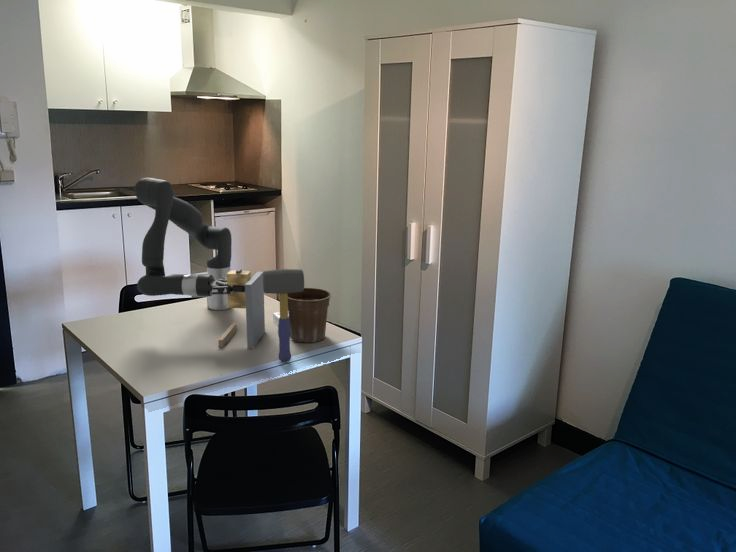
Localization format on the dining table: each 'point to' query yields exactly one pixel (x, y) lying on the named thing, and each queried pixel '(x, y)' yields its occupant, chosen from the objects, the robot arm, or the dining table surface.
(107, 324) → the dining table surface
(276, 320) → the bracket
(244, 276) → the ochre block
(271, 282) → the rubber mallet
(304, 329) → the plant pot
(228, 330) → the wall board
